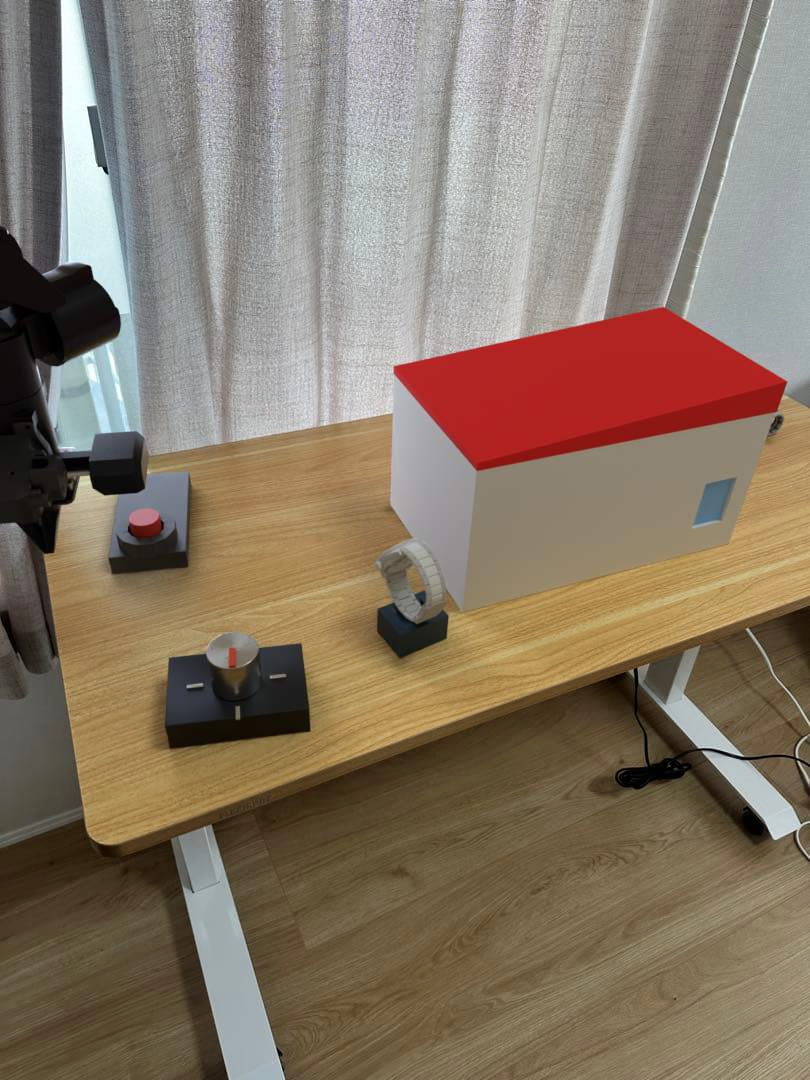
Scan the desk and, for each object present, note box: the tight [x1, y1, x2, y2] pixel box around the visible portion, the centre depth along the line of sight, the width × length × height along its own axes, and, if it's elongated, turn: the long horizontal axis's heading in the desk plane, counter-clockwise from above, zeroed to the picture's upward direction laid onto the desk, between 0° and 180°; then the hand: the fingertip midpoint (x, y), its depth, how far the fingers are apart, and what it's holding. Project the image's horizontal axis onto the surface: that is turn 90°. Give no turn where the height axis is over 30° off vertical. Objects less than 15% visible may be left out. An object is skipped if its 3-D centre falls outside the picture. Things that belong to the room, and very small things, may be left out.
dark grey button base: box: [107, 470, 192, 575], centre depth 92 cm, size 16×8×4 cm, turn 11°
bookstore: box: [389, 306, 788, 613], centre depth 90 cm, size 21×35×21 cm, turn 112°
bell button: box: [128, 509, 162, 538], centre depth 86 cm, size 3×3×2 cm
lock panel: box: [164, 642, 312, 750], centre depth 72 cm, size 12×9×3 cm
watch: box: [374, 538, 450, 659], centre depth 77 cm, size 6×8×11 cm
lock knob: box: [205, 631, 262, 701], centre depth 70 cm, size 4×4×4 cm
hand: (50, 550), depth 70 cm, fingers closed
